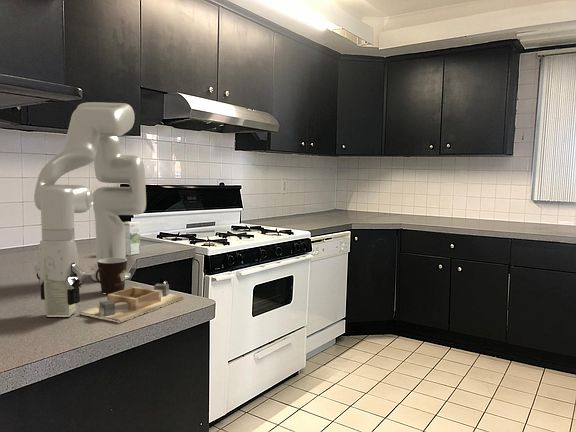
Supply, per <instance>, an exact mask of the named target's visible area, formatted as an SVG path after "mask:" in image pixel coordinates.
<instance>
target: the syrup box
mask: <svg viewBox="0 0 576 432" xmlns="http://www.w3.org/2000/svg"><path fill="white" fill-rule="evenodd" d="M122 222H123V224H124V226H125V251H126V256H129V257H130V256H137V255H140V254H141V222H140V221H136V220H131V221H122Z"/></svg>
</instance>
